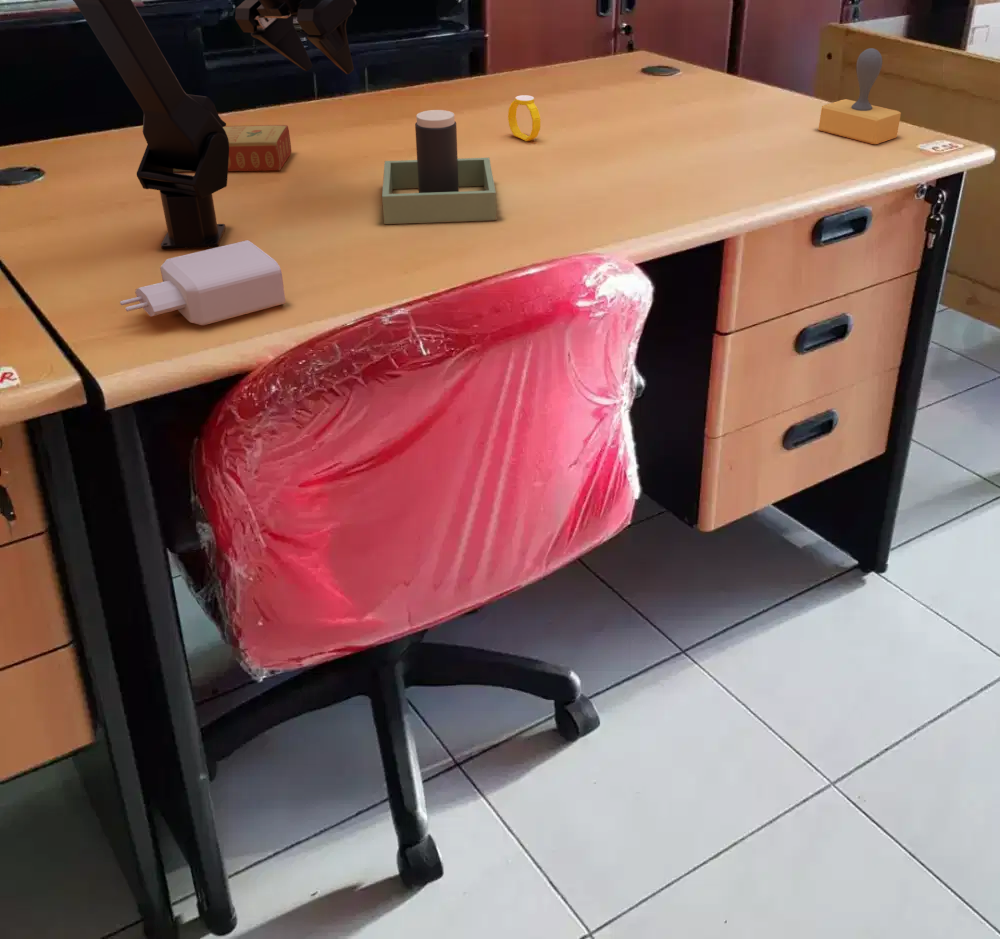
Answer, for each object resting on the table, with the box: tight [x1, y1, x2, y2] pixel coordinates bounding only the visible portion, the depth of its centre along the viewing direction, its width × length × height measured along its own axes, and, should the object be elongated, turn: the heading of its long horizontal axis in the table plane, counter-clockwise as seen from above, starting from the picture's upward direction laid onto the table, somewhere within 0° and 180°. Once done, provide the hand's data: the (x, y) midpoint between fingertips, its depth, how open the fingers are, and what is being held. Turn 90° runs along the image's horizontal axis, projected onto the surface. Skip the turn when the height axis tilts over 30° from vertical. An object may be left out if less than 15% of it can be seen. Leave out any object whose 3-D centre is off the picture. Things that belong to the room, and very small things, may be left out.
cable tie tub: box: [414, 109, 460, 193], centre depth 133 cm, size 5×5×11 cm
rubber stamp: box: [817, 47, 902, 145], centre depth 155 cm, size 10×6×12 cm, turn 40°
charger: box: [119, 239, 286, 327], centre depth 109 cm, size 5×9×15 cm
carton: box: [173, 124, 292, 173], centre depth 149 cm, size 8×16×4 cm, turn 89°
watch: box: [507, 94, 542, 142], centre depth 157 cm, size 6×3×6 cm, turn 38°
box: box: [381, 157, 497, 225], centre depth 135 cm, size 14×14×4 cm
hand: (329, 70), depth 135 cm, fingers open, 9 cm apart
